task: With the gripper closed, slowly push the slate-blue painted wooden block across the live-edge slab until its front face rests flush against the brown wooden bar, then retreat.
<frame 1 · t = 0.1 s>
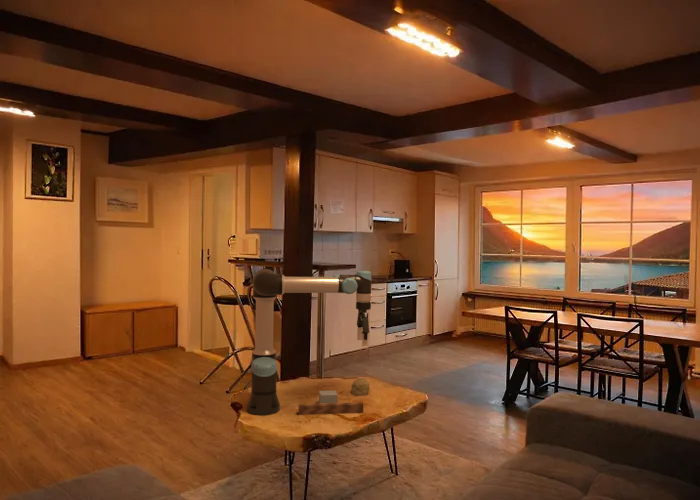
hand: (362, 343, 270), 28 cm above the table, fingers open, 13 cm apart
decorative object: (360, 393, 278), on the table
brown wooden bar: (330, 412, 249), on the table
block: (328, 405, 259), on the table
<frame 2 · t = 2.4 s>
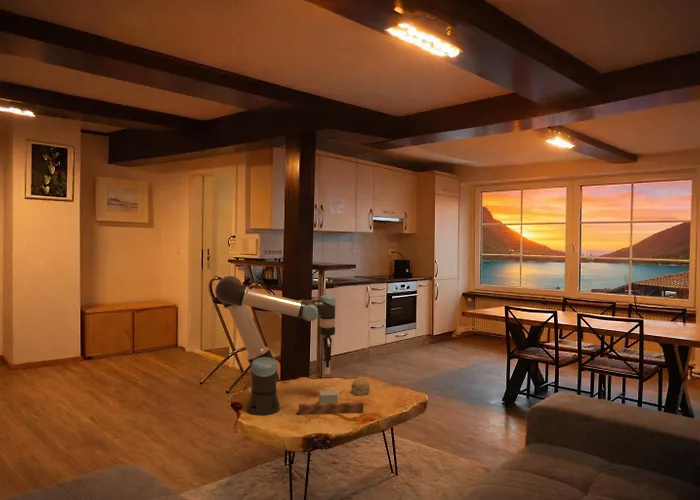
hand: (327, 373, 268), 13 cm above the table, fingers closed
nothing on the table moved.
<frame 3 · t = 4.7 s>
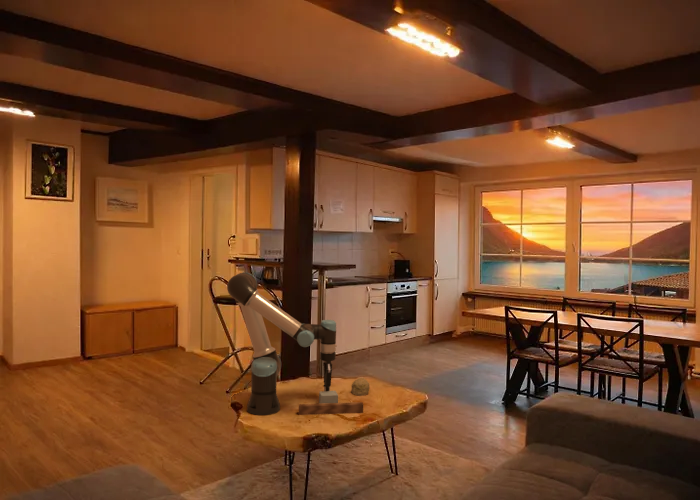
hand: (326, 398, 264), 1 cm above the table, fingers closed
block: (328, 405, 258), on the table, touching gripper
everything else where it was.
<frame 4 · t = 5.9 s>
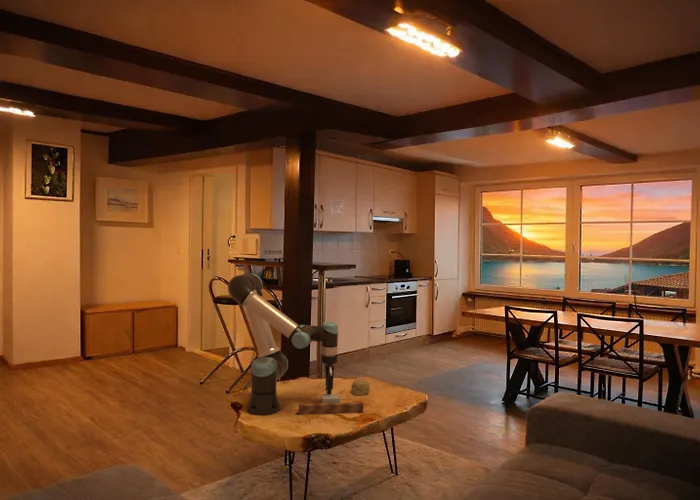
hand: (328, 401, 259), 1 cm above the table, fingers closed
block: (330, 408, 254), on the table, touching gripper, brown wooden bar
everything else where it was.
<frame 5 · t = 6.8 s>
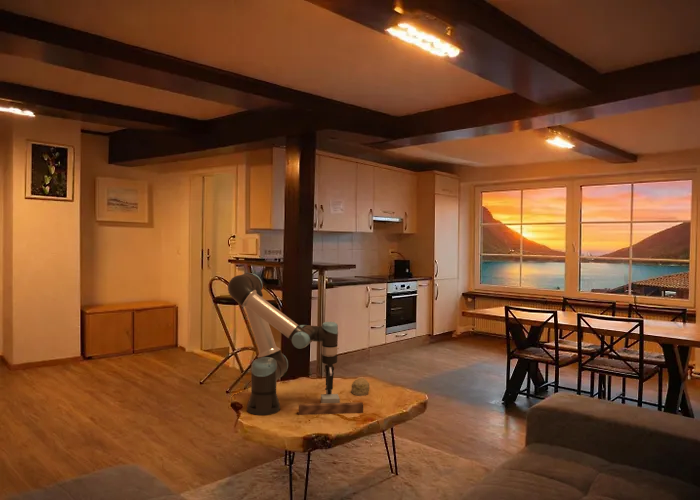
hand: (328, 401, 259), 1 cm above the table, fingers closed
nothing on the table moved.
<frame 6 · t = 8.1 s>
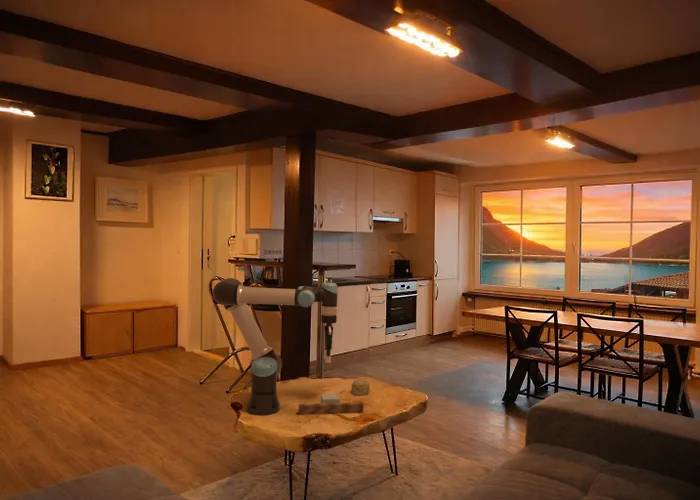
hand: (327, 362, 262), 20 cm above the table, fingers closed
block: (329, 409, 254), on the table
everything else where it was.
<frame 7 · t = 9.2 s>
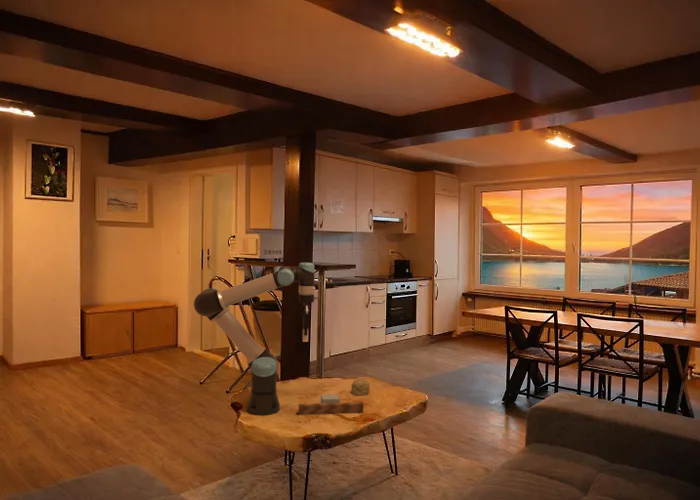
hand: (305, 341, 264), 29 cm above the table, fingers closed
nothing on the table moved.
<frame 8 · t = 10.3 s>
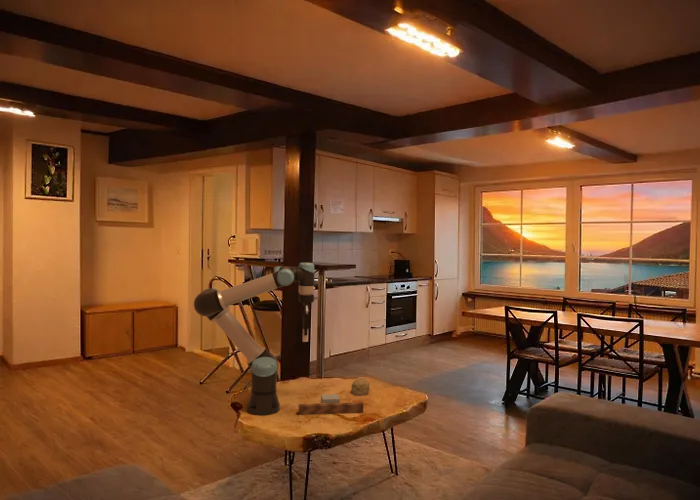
hand: (305, 341, 264), 29 cm above the table, fingers closed
nothing on the table moved.
at the end: block inside the target area on the table beside the brown wooden bar (0.7 cm from its centre), on the table; block tilted 0°; block moved 5.9 cm from its start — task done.
